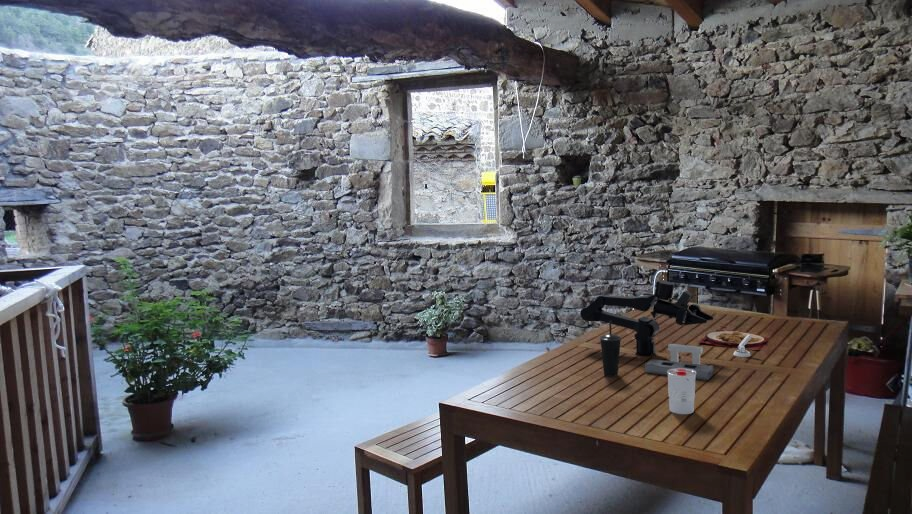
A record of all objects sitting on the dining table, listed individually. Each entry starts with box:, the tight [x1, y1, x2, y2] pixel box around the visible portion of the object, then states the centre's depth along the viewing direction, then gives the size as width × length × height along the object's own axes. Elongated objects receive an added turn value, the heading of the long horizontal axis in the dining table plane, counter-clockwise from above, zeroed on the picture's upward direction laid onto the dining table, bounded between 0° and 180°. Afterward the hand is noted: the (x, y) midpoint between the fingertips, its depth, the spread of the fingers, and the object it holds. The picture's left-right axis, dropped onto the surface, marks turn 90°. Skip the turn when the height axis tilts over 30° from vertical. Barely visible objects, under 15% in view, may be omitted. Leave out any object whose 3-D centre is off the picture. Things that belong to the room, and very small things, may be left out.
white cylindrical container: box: [667, 368, 696, 415], centre depth 201 cm, size 10×8×12 cm
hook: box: [733, 334, 751, 358], centre depth 261 cm, size 6×10×6 cm
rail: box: [644, 358, 714, 381], centre depth 240 cm, size 22×8×3 cm, turn 57°
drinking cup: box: [599, 320, 622, 377], centre depth 241 cm, size 8×8×20 cm
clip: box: [667, 343, 704, 365], centre depth 251 cm, size 12×3×7 cm, turn 57°
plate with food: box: [697, 325, 770, 351], centre depth 284 cm, size 25×26×4 cm
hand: (710, 320), depth 252 cm, fingers open, 9 cm apart
